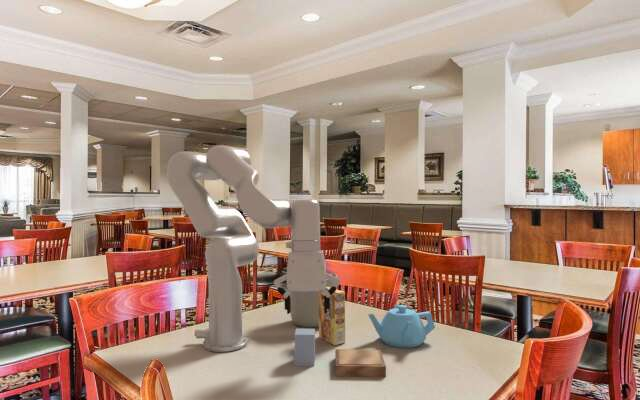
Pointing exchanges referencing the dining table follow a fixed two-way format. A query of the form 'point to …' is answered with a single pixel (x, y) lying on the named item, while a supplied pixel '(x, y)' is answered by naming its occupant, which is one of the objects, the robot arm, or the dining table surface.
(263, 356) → the dining table surface
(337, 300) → the candy box
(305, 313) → the canister
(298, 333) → the block
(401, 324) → the teapot
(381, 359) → the plinth
